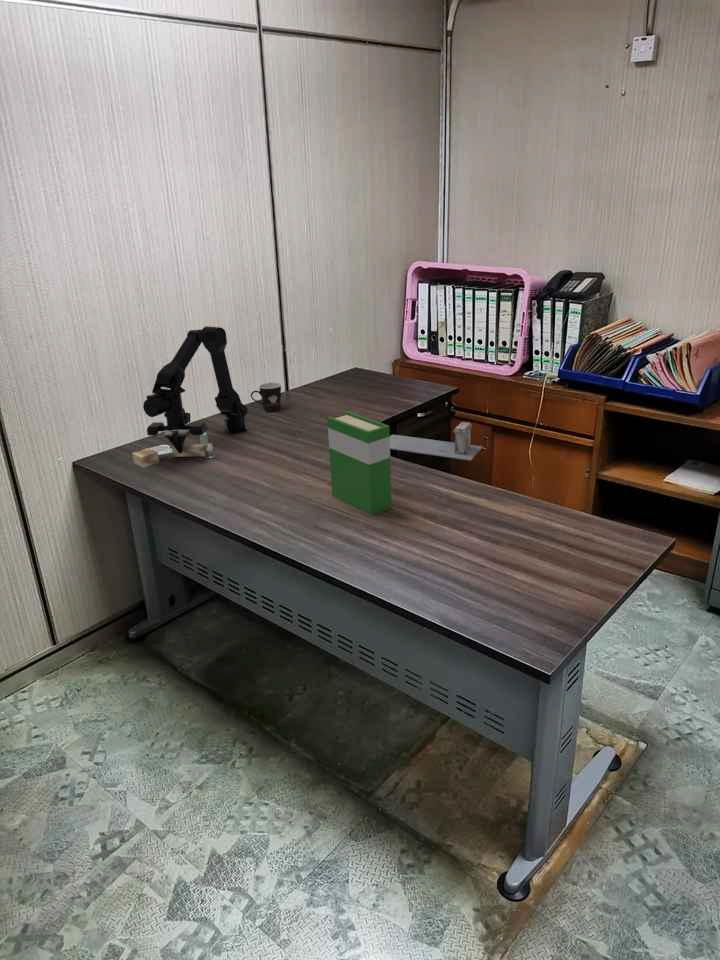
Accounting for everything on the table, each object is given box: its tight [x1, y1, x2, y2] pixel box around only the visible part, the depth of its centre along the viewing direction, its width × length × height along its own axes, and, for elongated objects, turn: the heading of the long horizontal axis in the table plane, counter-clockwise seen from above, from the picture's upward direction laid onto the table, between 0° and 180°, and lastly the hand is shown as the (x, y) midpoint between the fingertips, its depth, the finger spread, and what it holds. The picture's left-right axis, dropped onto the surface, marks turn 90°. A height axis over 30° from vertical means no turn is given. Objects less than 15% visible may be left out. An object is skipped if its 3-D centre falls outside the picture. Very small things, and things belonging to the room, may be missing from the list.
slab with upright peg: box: [390, 421, 484, 462], centre depth 233 cm, size 12×33×10 cm, turn 63°
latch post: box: [199, 431, 209, 444], centre depth 245 cm, size 2×2×4 cm
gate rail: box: [171, 443, 206, 458], centre depth 235 cm, size 11×2×4 cm, turn 86°
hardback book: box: [326, 411, 392, 516], centre depth 194 cm, size 18×7×24 cm, turn 39°
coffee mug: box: [250, 382, 282, 413], centre depth 277 cm, size 12×9×10 cm
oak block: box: [132, 447, 160, 469], centre depth 232 cm, size 6×6×4 cm
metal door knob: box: [202, 442, 217, 459], centre depth 235 cm, size 4×4×4 cm
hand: (180, 452), depth 234 cm, fingers closed
